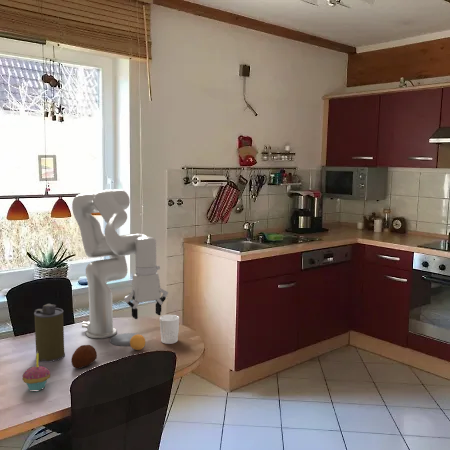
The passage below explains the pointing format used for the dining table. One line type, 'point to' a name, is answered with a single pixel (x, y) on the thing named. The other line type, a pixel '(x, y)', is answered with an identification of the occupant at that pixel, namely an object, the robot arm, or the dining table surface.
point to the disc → (122, 339)
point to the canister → (49, 333)
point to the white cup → (169, 328)
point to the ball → (137, 342)
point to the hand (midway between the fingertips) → (146, 316)
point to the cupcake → (36, 376)
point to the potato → (83, 356)
